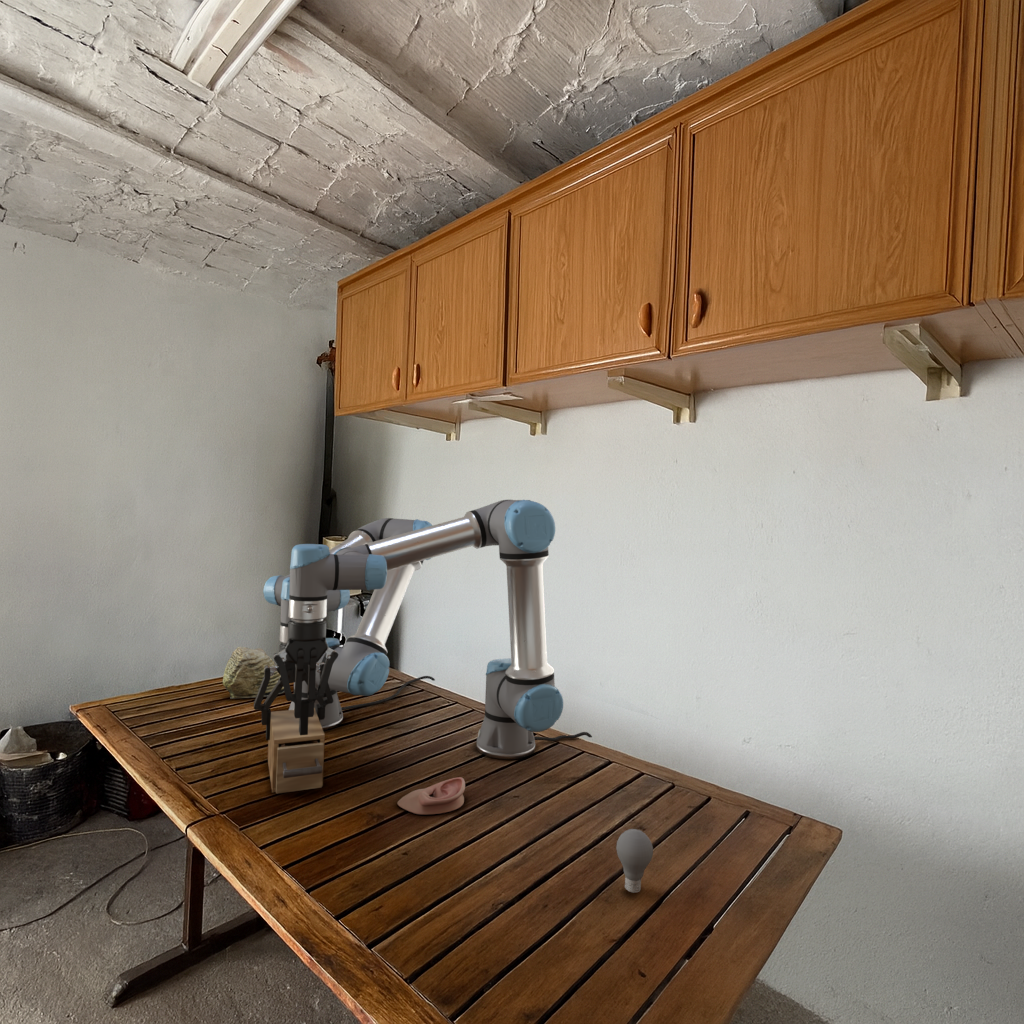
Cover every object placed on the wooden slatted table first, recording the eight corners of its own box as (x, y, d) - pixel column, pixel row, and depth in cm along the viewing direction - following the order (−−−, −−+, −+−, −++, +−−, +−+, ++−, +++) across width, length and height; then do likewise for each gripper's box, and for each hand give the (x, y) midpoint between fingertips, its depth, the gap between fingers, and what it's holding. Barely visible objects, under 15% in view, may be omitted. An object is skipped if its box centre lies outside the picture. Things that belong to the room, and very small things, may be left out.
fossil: (218, 695, 195) (220, 647, 195) (278, 685, 208) (279, 640, 207) (228, 703, 189) (230, 653, 188) (289, 692, 201) (290, 645, 201)
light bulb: (610, 879, 108) (613, 822, 108) (644, 879, 109) (647, 822, 109) (619, 902, 102) (622, 840, 102) (655, 901, 103) (658, 840, 103)
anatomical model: (392, 791, 129) (412, 768, 140) (391, 810, 129) (411, 786, 140) (454, 800, 126) (470, 776, 137) (454, 820, 126) (469, 794, 137)
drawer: (325, 799, 131) (327, 754, 130) (277, 806, 127) (279, 760, 127) (312, 756, 152) (314, 717, 151) (271, 761, 148) (272, 721, 148)
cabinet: (322, 785, 139) (324, 734, 139) (272, 792, 135) (274, 740, 134) (313, 753, 156) (314, 707, 155) (267, 758, 151) (269, 711, 151)
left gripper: (244, 648, 142) (240, 747, 142) (348, 643, 151) (344, 735, 151) (243, 641, 149) (240, 735, 149) (343, 636, 158) (339, 725, 158)
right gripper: (274, 624, 124) (270, 743, 125) (342, 621, 130) (338, 735, 130) (272, 616, 131) (268, 729, 132) (337, 614, 137) (333, 723, 137)
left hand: (292, 735), depth 150 cm, fingers closed on cabinet, 10 cm apart
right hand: (303, 732), depth 131 cm, fingers closed
